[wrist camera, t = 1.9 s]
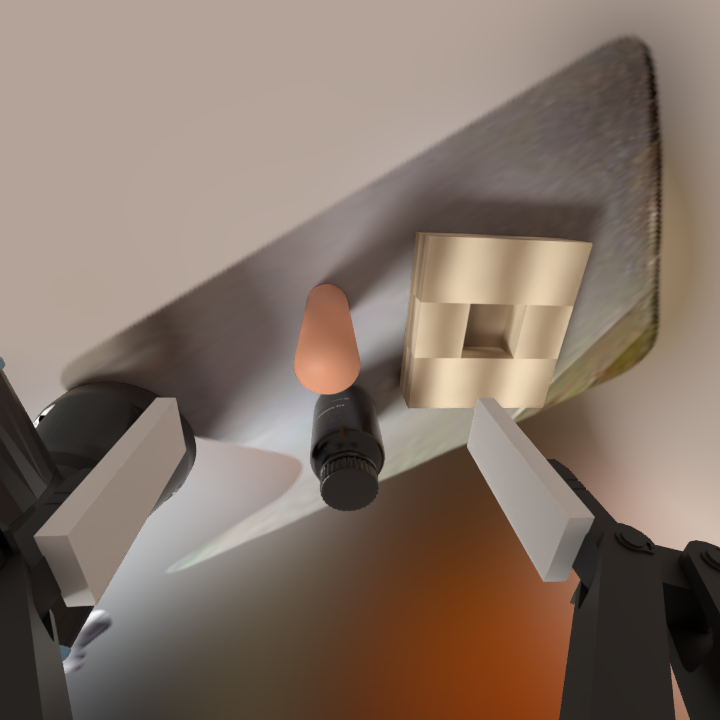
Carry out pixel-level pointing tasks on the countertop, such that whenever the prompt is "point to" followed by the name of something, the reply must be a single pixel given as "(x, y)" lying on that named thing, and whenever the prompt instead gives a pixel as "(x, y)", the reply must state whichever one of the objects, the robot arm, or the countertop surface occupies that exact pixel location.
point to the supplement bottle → (347, 449)
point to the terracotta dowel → (327, 343)
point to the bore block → (487, 317)
